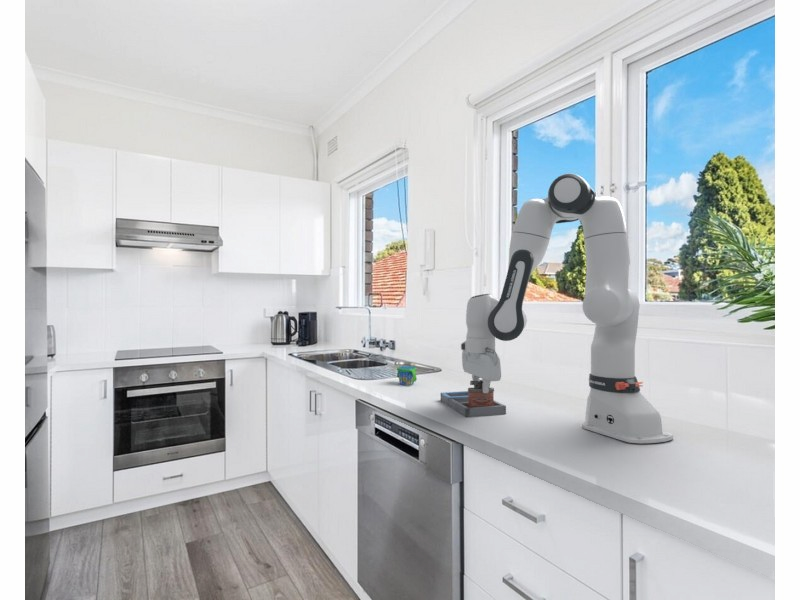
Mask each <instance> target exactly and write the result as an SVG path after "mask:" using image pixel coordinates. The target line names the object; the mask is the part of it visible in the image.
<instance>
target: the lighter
mask: <svg viewBox="0 0 800 600" xmlns="http://www.w3.org/2000/svg"><path fill="white" fill-rule="evenodd" d="M469 385H470V386H473V387H468V388H467V391H469V408H473V407H486V406H494V401H495V400H494V392H495V388H494V387H490V386H491V384H490V385H489V392H488V393H483V392H481V387H482V386H483V382H482V379H480V381H473V380H470V381H469ZM474 385H475V386H474ZM477 385H479V386H478V387H477Z"/></svg>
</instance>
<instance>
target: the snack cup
mask: <svg viewBox="0 0 800 600" xmlns="http://www.w3.org/2000/svg"><path fill="white" fill-rule="evenodd" d="M396 371H397V373H396V374H397V375H396V376H397V378H398V381H399V385H400V386H405V387H406V386H407V387H409V386H410V387H411V386H414V383H415V382H416V381H417V380H418V378H417V374H416V371H417V367H415V366H411V365H408V366H407V365H404V366H398V367H396Z"/></svg>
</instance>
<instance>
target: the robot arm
mask: <svg viewBox="0 0 800 600" xmlns="http://www.w3.org/2000/svg"><path fill="white" fill-rule="evenodd" d="M596 195H597V194H596V192H595V191H594V189H593V188H592V187H591V186H590V184H589V183H588V182H587V180H585V179H584V178H583V177H581V176H580V175H578V174H576V173H565V174H561V175H560V176H557V178H555V179H554V180H553V181H552V182H551V184H550V186H549V187H548V191H547V197H546V198H542V199H541V198H532V199H528V200H526V201H525V202H523V204H522V205H521V207H520V209H519V211H518V213H517V216H516V219H515V222H514V225H513V228H512V233H511V236H510V242H509V249H508V266H507V272H506V277H505V281H504V283H503V288H502V291H501V295H500V298H497V297H495V296H494V295H493V294H491V293H484V294H483V293H482V294H478V295H474V296H471V297H469V299H467V300H468V301H467V304H466V310H465V311H466V312H465V325H466V327H467V332H466V336H465V339H466V340H465V341H463V342H462V343H460V350H461V351H462V352H461V361H462V362H461V364H462V369H463V373H466V374H470V375H471V379H472V381H479V379H481V380H482V382H483V386H482V387H481V392H483V393H488V392H489V388H490V387H489V385H490V386H491V383H492V382H500V381H501V379H502V367H501V360H500V359H501V358H500V356H499V355H498V353H497V352H496V339H497V340H500V341H503V342H507V341H508V342H509V341H513V340H516V339H517V338H518V337H519V336H520V335H521V334H522V333H523V332H524V331H523V330H524V329H525V327H526V326H527V316H526V313H525V311H524V310H523V303H524V300H525V296H526V292H527V289H528V284H529V281H530V278H531V276H532V274H533V273H534V271H535V269H537V267H538V266H539V265H540V264H541V262H542V261H543V259H544V257H545V255H546V252H547V250H548V246H549V243H550V240H551V235H552V231H553V228H554V226H555V224H563V223H571V222H572V223H573V222H577V221H579V222H580V223H581V225H582V232H583V240H584V241H583V242H584V243H583V244H584V252H585V260H586V261H585V262H586V263H585V264H586V265H585V266H586V273H585V284H584V298H583V301H582V311H583V315H585V317H586V318H587V319H588V320H589V321H590V322H592V323H594V324H595V328H594V333H593V339H592V342H591V344H590V373H589V375H588V376H589V377H588V386H589V388H590V391H589V394H588V397H587V398H586V409H585V418H584V420H585V421H584V422H583V423H582V425H581V428H582V429H584V430H586V431H587V430H588V431H591V432H594V433H597V434H601V435H604V436H606V437H609V438H613V439H617V440H619V441H622V442H626V443H629V444H656V443H664V442H668V441H669V442H670V441H671V440H673V439H674V434H673V433H671V432H668V431H665V430H664V429H663V422H662V416H661V413H660V412H659V411H658V410H657V409H656V408H655V407H654V406H653V404H651V402H649V400H648V399H647V398H646V397H645V396H644V395H643V394H642V393H641V392H640V391H641V387H643V385H642V384H644V382H643V381H640V382H639V381H638V379H637V377H636V375H635V374H636V370H635V369H636V367H635V366H636V359H635V358H636V354H635V351H636V349H635V348H636V341H637V333H638V326H639V325H638V324H639V313H640V305H641V304H640V300H639V298H638V296H637V294H636V293H635V292H634V291H633V290H632V289H630V288H629V271H630V270H629V269H630V264H631V260H630V259H631V258H630V249H629V248H630V246H629V240H628V230H627V224H626V220H625V215H624V210H623V209H622V205H621V203H620V201H619V200H618V199H616V198H614V197H611V196H600V197H598V196H597V197H596ZM474 386H475V385H473V387H474ZM478 386H479V385H477V387H478Z"/></svg>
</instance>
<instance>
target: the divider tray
mask: <svg viewBox="0 0 800 600" xmlns="http://www.w3.org/2000/svg"><path fill="white" fill-rule="evenodd" d="M480 380H481V378H479V381H480ZM440 402H442V403H444V404H445V405H447V406H448V407H449V408H451V409H453V410H454V411H456V412H458V413H459V414H461V415H462V416H464V417H466V418H472V417H473V418H474V417H487V416H497V415H498V416H499V415H501V416H502V415H506V414H507V405H505V404H503V403H500V402H499V401H496V400H494V406H486V407H473V408H469V391H468V390H464V391H449V392H446V391H445V392H440Z"/></svg>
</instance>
